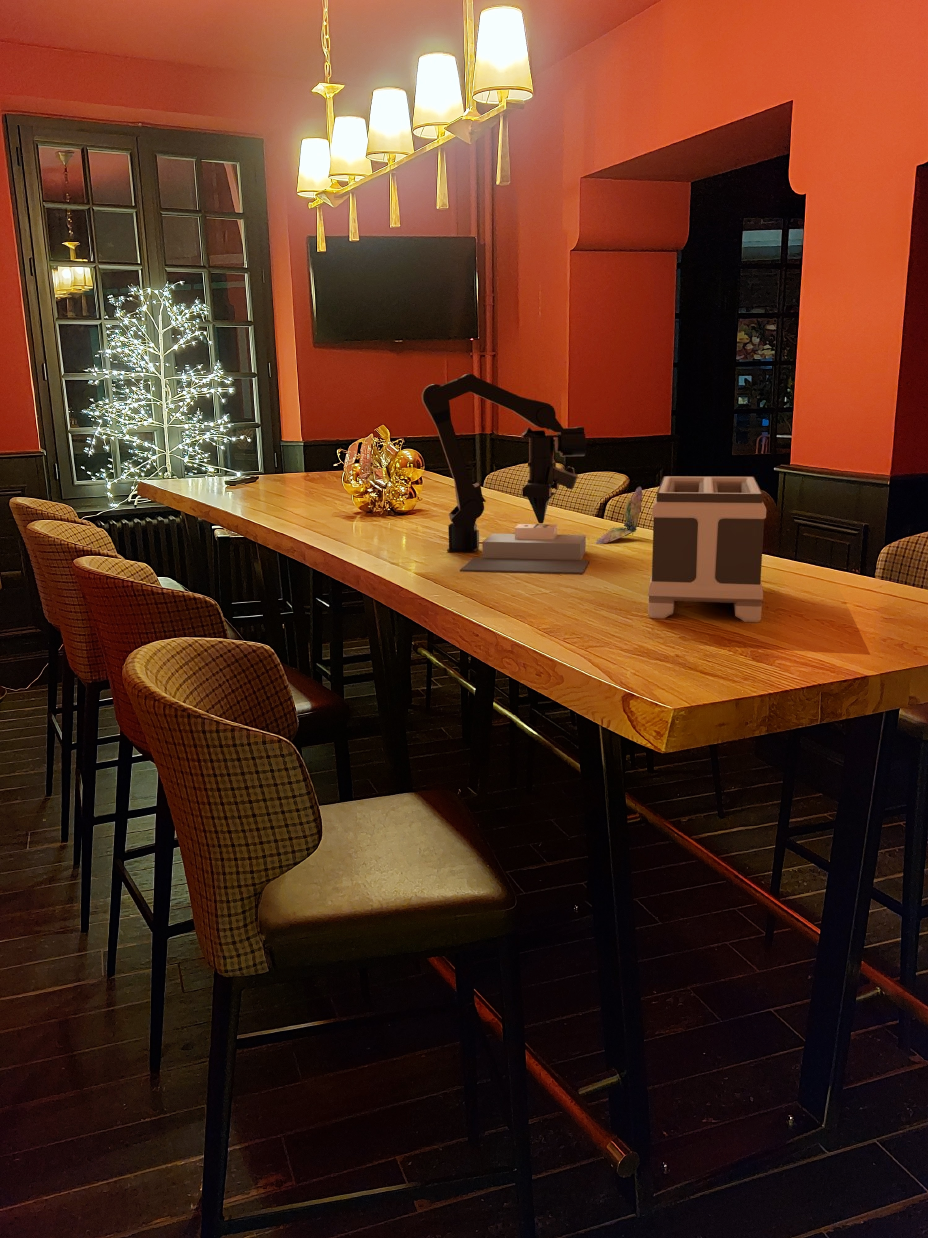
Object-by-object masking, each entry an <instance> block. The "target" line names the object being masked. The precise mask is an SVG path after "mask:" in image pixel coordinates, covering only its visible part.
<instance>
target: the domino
mask: <svg viewBox="0 0 928 1238" xmlns="http://www.w3.org/2000/svg"><path fill="white" fill-rule="evenodd" d="M514 534H515V539H555V537H556V536H557V535H558V524H553V523H552V524H545V523H534V524H533V523H518V524H516V526H515V527H514Z"/></svg>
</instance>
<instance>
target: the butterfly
mask: <svg viewBox="0 0 928 1238" xmlns="http://www.w3.org/2000/svg"><path fill="white" fill-rule="evenodd" d="M642 500H643V489H642V487H641V486H637V487H636V489H635V491H634V493H633V494H632V496H631V497H629V498H627V499H626V501H625V506H624V507H623V508H624V510H623V517H624V518H625V520H626V521H625V523H624V524H623V526H624V527H620V526H619V527H617V526H613V527H611V528H609V529H608V530H606V531H605V532H603V534H602V535H601V536H600V537H599V538H597V540H596V542H595V543H596V544H597V545H598V544H599V545H601V544H607V543H610V542H614V541H617V540H621V538H625V537H627V536H629V535H631V534H632V536H633V535H634V533H636V531H637V528H638V527H639V526H644V525H645V523H643V524H641V525H638V523H639V517H640V513H642ZM633 540H635V538H634V537H633Z"/></svg>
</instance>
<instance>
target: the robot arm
mask: <svg viewBox="0 0 928 1238" xmlns="http://www.w3.org/2000/svg"><path fill="white" fill-rule="evenodd" d="M467 393H471V394H474V395H475V396H478V397H480V398H483V399H484V400H487V401H488V402H492V403H494V404H496V405H498V406H501V407H503V408H505V409H508V410H510V411H512V412H513V413H514V414H516V415H518V416H519V417H521V418H522V419H523V420H525V421H526V422H528V424H530V425H532V426H533V427H537V428H541V430H533V429H531V428H530V427H529V426H527V427H526V429H525V431H524V432H523V433H521V434H520V438H523V439H528V442H529V443H528V445H529V446H528V449H529V450H528V455H529V456H528V458H529V459H528V460H529V461H528V462H527V467H528V469H529V471H528V472H529V473H528V475H529V477H528V479H527V484H525V485H524V486H523V487H522V497H523V498H527V499H528V501H529V504H530V506H531V509H532V510H533V512H534V515H535V517H536V520H537V524H545V523H544V522H545V518H546V513H547V509H548V504H549V500H550V499H551V498H552V497H554V495H556V492H553V491H552V489H554V490H559V489H560V487H559V486H560V485H561V486H563V487H565V488H566V489H569V490H573V489H574V487H575V485H576V483H577V479H578V477H579V475H578V473H575V468H574V467H571V466H567V467H566V468H565V469H563V468H559V467H557V462H556V461H555V459H554V456H555V455H554V453H559V456H560V457H562V458H564V457H585V455H586V453H587V450H588V449H587V446H588V444H587V443H588V441H587V438H586V434H585V427H584V426H576V427H563V426H562V424H561V423H560V422H559V420H558V419H557V418H556V417H557V415H556V410H555V408H554V406H553V405H552V404H550V403H548V402H545V401H539V400H536V399H531V398H526V397H522V396H520V395H517V394H515V393H513V392H510V391H508V390H507V389H505V388H502V387H500V386H497V385H495V384H492V382H491V383H490V382H488V381H486V380H483V379H481V378H479V377H478V376H476V375H475V374H472V373H466V374H464V375H462V376H461V377H459V378H455V379H453V380H451V381H448V382H445V383H443V384H441V385H440V384H437V383H435V384H434V383H432V384H428V385H426V386H425V387H424V388H423V391H422V393H421V396H420V397H421V402H422V404H423V406H424V408H425V410H426V412H427V413H428V415H429V417H430V418H431V420H432V422H433V424H434V425H435V428H436V430H437V434H438V436H439V437H438V438H439V440H440V443H441V445H442V449H443V453H444V454H445V459H446V461H447V464H448V468H449V470H450V473H451V476H452V480H453V482H454V489H455V490H454V491H455V497H456V499H455V500H456V506H455V507H454V508H453V509H452V510H451V511H450V512H449V513H448V517H449V519H450V522H451V523H449V524H448V525H447V526H448V528H447V529H448V548H447V549H446V552H448V553H449V552H451V553H457V552H458V553H475V551H477V550H478V549H479V548H480V530H479V529H478V527H477V526H478V525H477V523H476V521H477V520H478V518H480V517H481V516H482V515H483V513H484V510H485V505H484V504H485V503H486V501H487V500H486V499H485V498H484V496H483V493H482V486H481V484H480V483H479V482H476V483H473V482H472V479H471V477H470V475H469V471H468V468H467V464H466V462H465V458H464V455H463V453H462V449H461V447H460V444H459V440H458V438H457V434H456V432H455V428H454V426H453V423H452V415H451V405H450V401H451V400H453V399H456V398H458V397H460V396H463V395H465V394H467ZM542 429H543V430H542ZM544 429H546V430H547V431H549V432H553V433H555V434H546V431H545V430H544ZM554 451H555V452H554Z"/></svg>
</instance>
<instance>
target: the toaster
mask: <svg viewBox="0 0 928 1238" xmlns="http://www.w3.org/2000/svg"><path fill="white" fill-rule="evenodd" d="M756 480H757V479H756V478H755V476H698V475H697V476H688V475H685V476H682V475H681V476H680V475H679V476H678V475H677V476H676V475H675V476H671V475H670V476H669V475H668V476H665V475H664V476H663V477H662V479H661V482H660V485H659V488H658V489H657V492H656V496H655V500H654V502H653V504H652V507H651V511H652V512H651V516H652V517H653V522H652V524H653V528H652V529H653V532H652V558H651V559H652V560H651V561H652V562H651V576H650V580H649V584H648V589H647V591H648V592H647V596H648V608H647V609H648V610H647V613H648V617H649V618H650V619H656V620H657V619H659V620H660V619H661V620H664V619H666V618H667V617H669V616H672V615H673V614H674V612H675V611H674V610H675V605H676V604H675V602H692V603H693V602H699V603H725V604H733V609H734V616H735V617H736V618H738V619H740V620H741V621H742V622H744V623H759V622H760V621H761V619H762V607H763V605H762V603H763V600H764V588H763V584H762V581H761V579H762V564H763V562H762V561H763V546H764V544H763V543H764V529H765V527H764V526H765V519H766V518H767V507H766V505H765V503H764V501H763V499H764V494H763V492H762V490H761V488H760V485H759V484H758V482H757V481H756Z"/></svg>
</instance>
